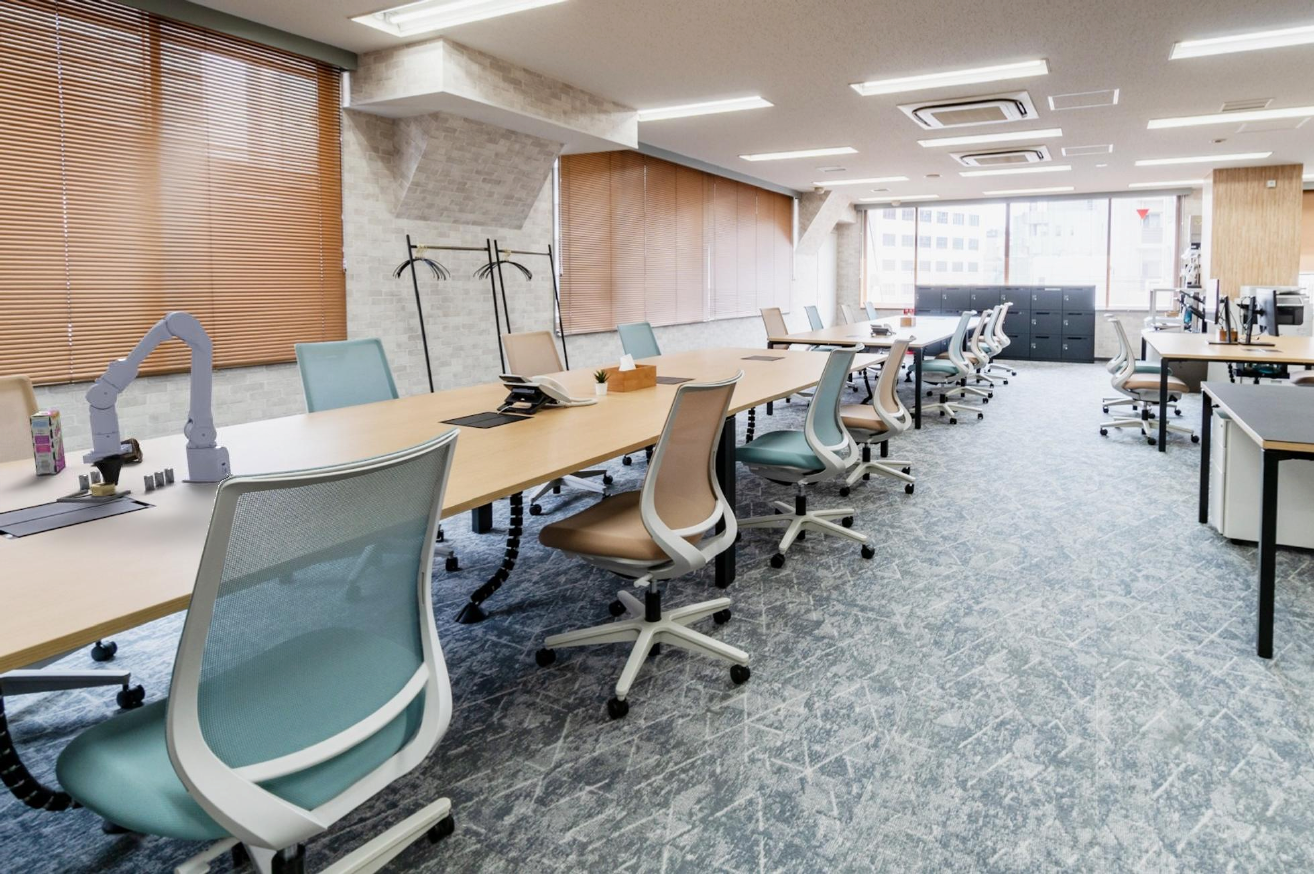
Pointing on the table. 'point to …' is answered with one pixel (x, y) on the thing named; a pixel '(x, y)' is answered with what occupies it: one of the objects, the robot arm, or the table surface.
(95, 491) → the nut
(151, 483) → the metal pins
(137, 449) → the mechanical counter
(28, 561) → the table surface
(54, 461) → the candy bar box
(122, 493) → the frame
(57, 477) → the table surface
